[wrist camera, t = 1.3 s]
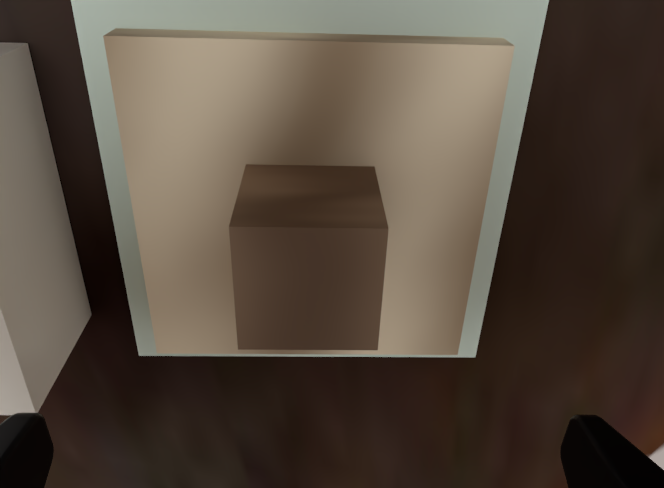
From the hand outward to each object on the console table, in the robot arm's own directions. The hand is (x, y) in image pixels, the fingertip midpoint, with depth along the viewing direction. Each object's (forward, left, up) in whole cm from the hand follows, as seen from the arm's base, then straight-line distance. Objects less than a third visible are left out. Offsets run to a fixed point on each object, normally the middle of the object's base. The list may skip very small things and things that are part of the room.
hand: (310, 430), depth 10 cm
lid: (0, 0, -9) cm, 9 cm away
